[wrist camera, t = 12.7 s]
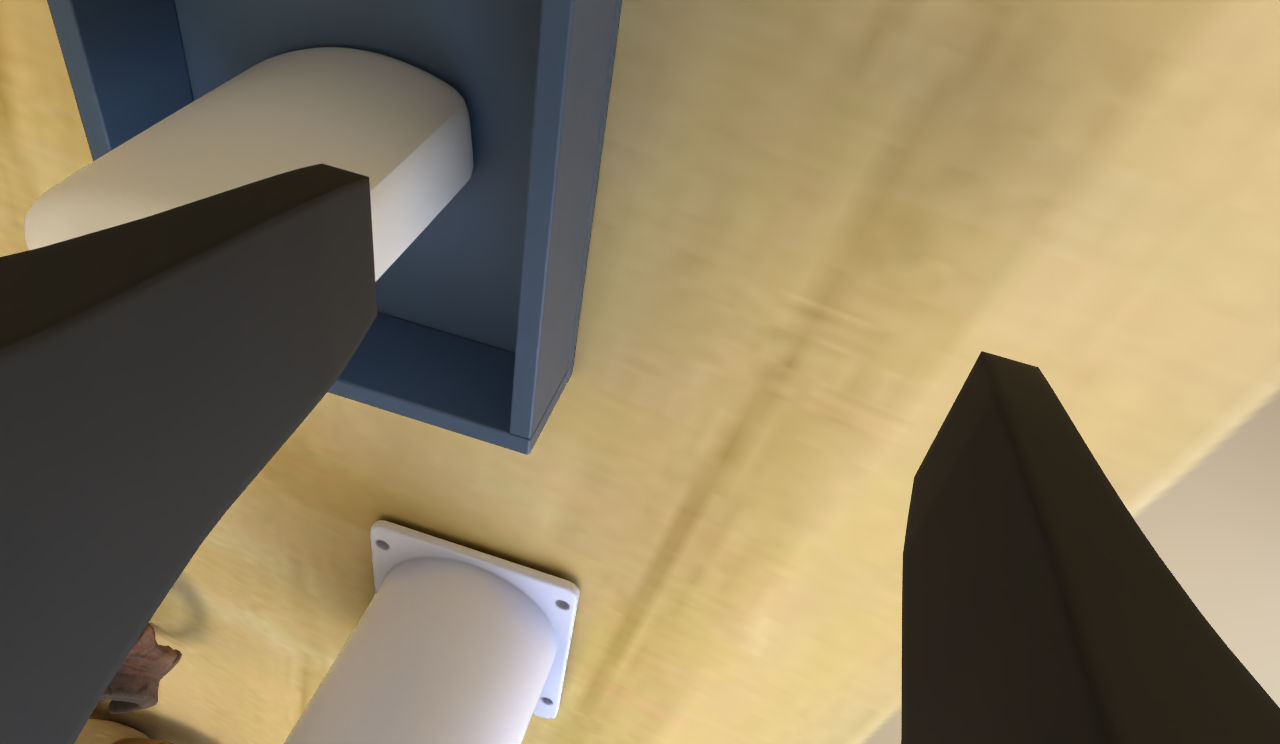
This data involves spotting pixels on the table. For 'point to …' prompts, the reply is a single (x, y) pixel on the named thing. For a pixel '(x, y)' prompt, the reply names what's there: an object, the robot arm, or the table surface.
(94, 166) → the eye dropper bottle
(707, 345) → the table surface
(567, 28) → the tray
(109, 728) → the ceramic sculpture
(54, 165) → the table surface
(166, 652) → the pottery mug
